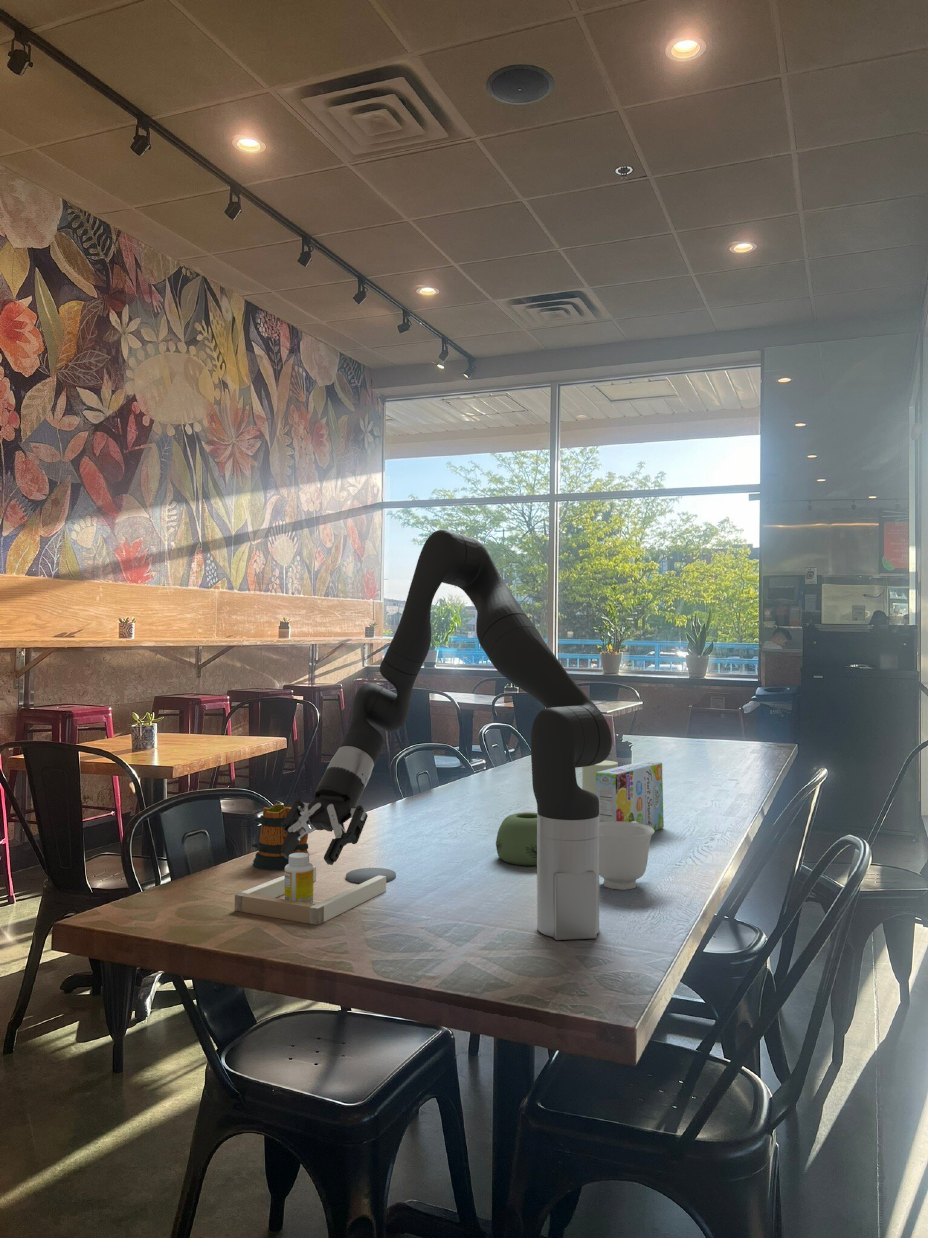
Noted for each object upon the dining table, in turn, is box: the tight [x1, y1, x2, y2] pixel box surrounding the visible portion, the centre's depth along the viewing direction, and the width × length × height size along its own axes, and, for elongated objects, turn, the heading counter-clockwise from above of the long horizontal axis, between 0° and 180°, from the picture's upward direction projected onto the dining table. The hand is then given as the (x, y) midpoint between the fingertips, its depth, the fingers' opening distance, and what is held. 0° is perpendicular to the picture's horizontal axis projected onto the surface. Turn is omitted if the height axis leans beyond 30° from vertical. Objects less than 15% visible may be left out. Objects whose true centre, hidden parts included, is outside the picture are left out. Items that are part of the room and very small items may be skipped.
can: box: [581, 759, 619, 795], centre depth 227 cm, size 9×9×12 cm
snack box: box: [596, 760, 665, 832], centre depth 197 cm, size 21×6×15 cm, turn 141°
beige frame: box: [234, 865, 387, 926], centre depth 148 cm, size 20×16×2 cm
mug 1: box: [251, 803, 310, 871], centre depth 171 cm, size 13×10×12 cm
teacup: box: [599, 821, 656, 891], centre depth 158 cm, size 12×15×10 cm
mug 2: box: [495, 811, 537, 867], centre depth 176 cm, size 16×13×9 cm
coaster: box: [345, 867, 397, 884], centre depth 162 cm, size 9×9×1 cm
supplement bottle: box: [284, 853, 314, 904], centre depth 144 cm, size 5×5×8 cm
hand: (306, 859), depth 146 cm, fingers open, 8 cm apart
